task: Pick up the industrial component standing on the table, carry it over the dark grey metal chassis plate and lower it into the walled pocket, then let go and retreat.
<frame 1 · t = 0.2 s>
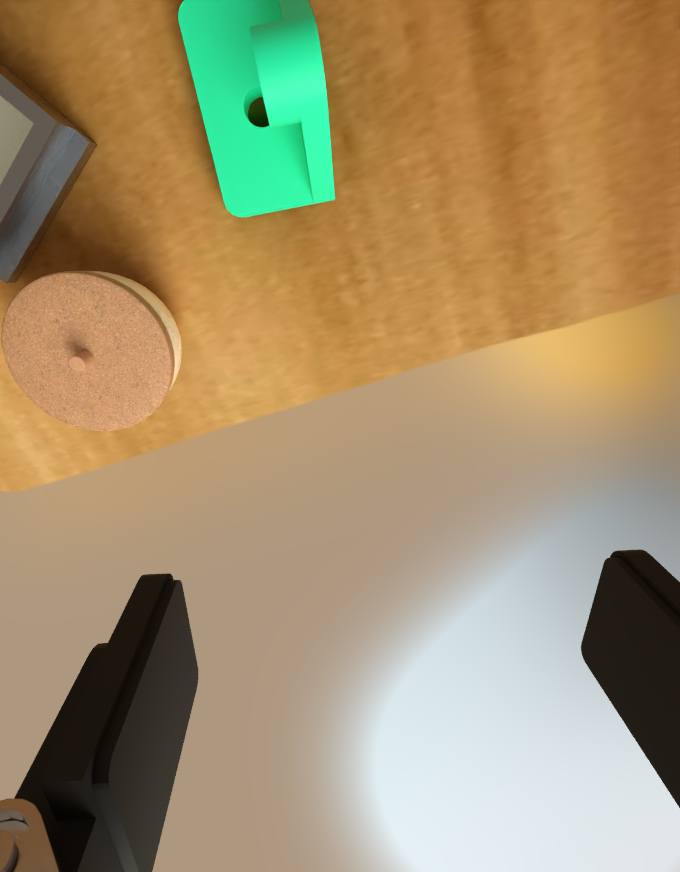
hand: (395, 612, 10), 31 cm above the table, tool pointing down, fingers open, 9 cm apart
lidded jar: (130, 333, 38), on the table
camera mount: (264, 117, 32), on the table
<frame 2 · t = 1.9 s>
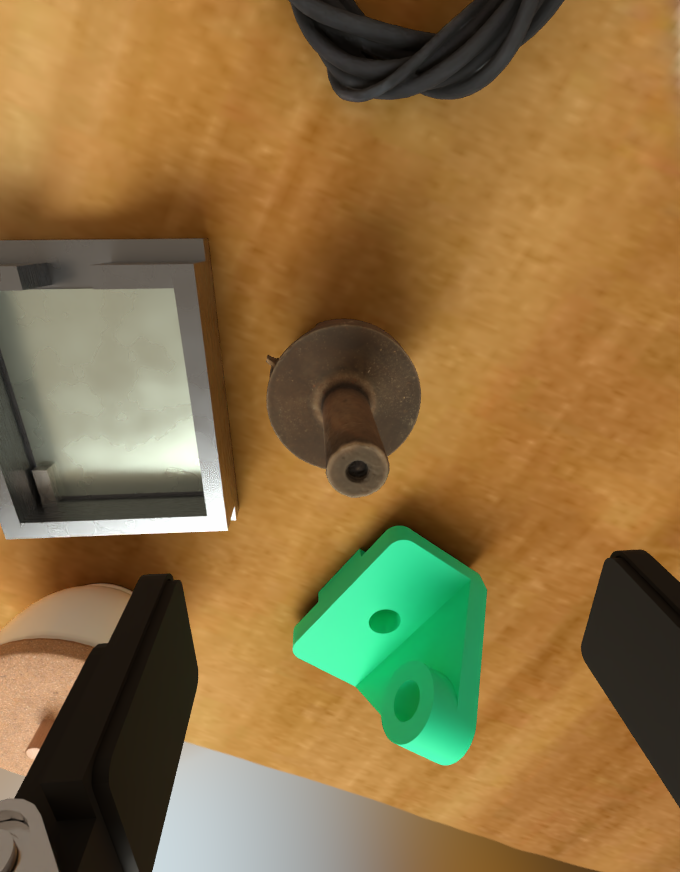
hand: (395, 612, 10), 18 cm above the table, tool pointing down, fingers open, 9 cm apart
lidded jar: (109, 614, 33), on the table
pocket plate: (118, 393, 26), on the table
camera mount: (379, 591, 33), on the table
industrial component: (348, 379, 27), on the table
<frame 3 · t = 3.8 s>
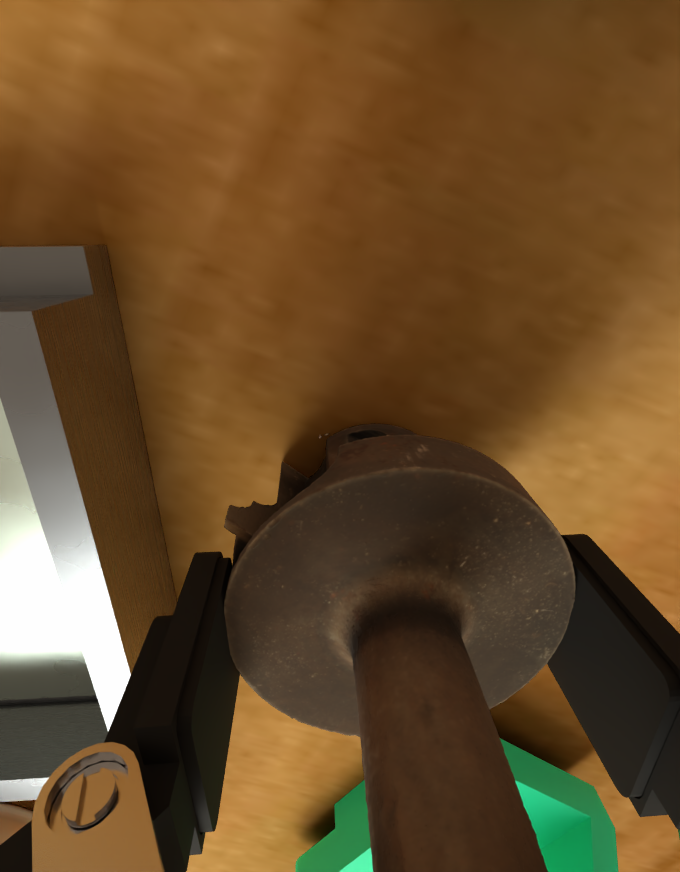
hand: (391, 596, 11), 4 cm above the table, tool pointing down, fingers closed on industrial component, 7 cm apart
camera mount: (428, 795, 22), on the table
industrial component: (387, 502, 15), on the table, touching gripper
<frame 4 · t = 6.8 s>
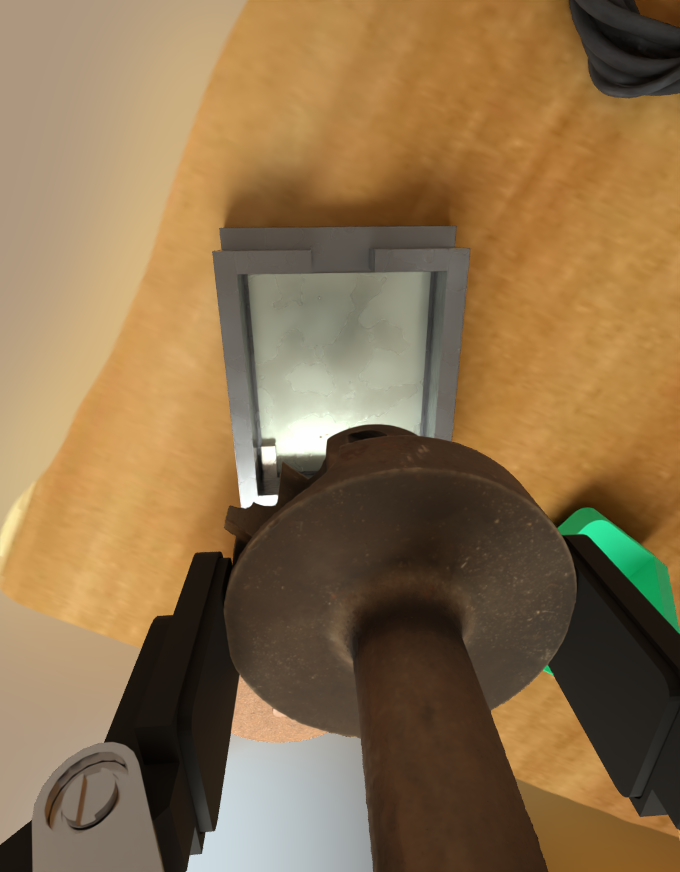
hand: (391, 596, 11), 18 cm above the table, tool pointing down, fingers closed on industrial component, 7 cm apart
lidded jar: (287, 589, 34), on the table
pocket plate: (339, 373, 27), on the table
camera mount: (549, 572, 35), on the table
industrial component: (388, 502, 15), point 14 cm above the table, touching gripper
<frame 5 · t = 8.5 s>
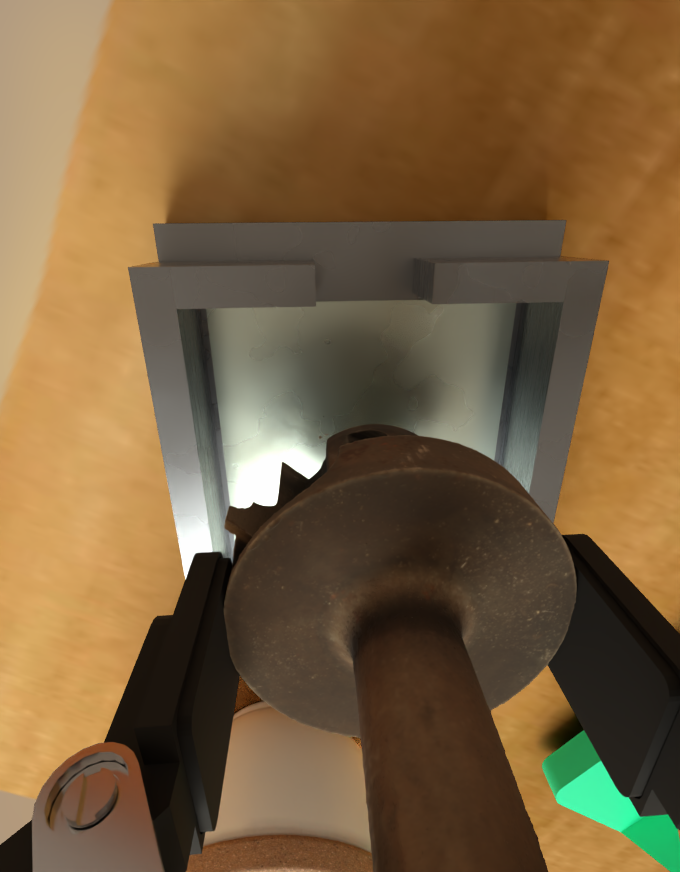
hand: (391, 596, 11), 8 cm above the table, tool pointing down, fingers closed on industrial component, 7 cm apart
lidded jar: (280, 734, 24), on the table
pocket plate: (358, 452, 18), on the table
camera mount: (647, 706, 26), on the table
industrial component: (388, 502, 15), point 3 cm above the table, touching gripper
when the fingers open (6 cm above the table, at t = 9.8 s): industrial component drops 1 cm, resting on pocket plate.
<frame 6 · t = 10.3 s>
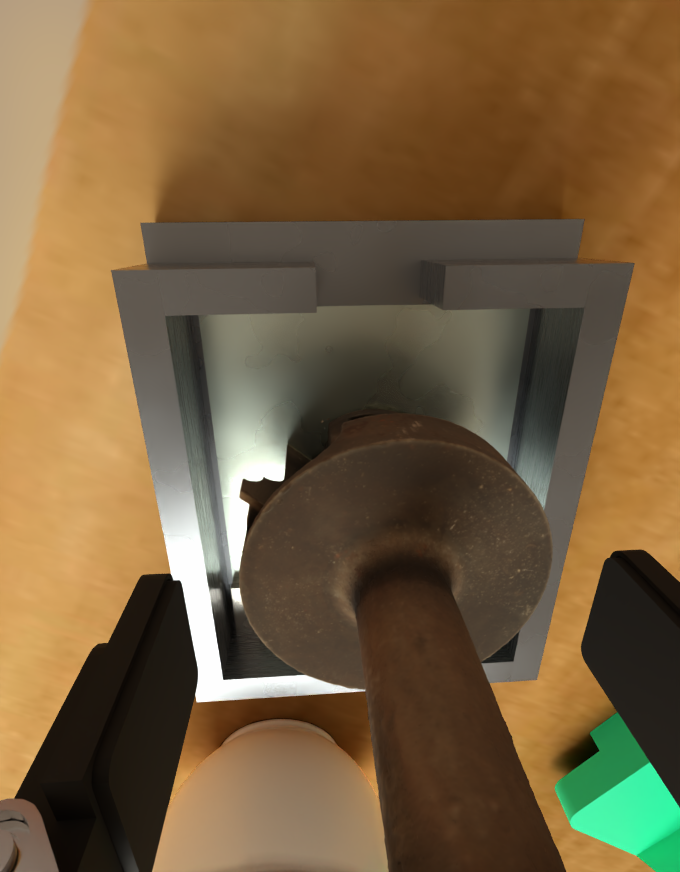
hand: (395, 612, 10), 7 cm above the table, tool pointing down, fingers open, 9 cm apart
lidded jar: (279, 754, 23), on the table
pocket plate: (361, 465, 17), on the table
camera mount: (663, 725, 25), on the table
industrial component: (384, 483, 16), point 1 cm above the table, touching pocket plate
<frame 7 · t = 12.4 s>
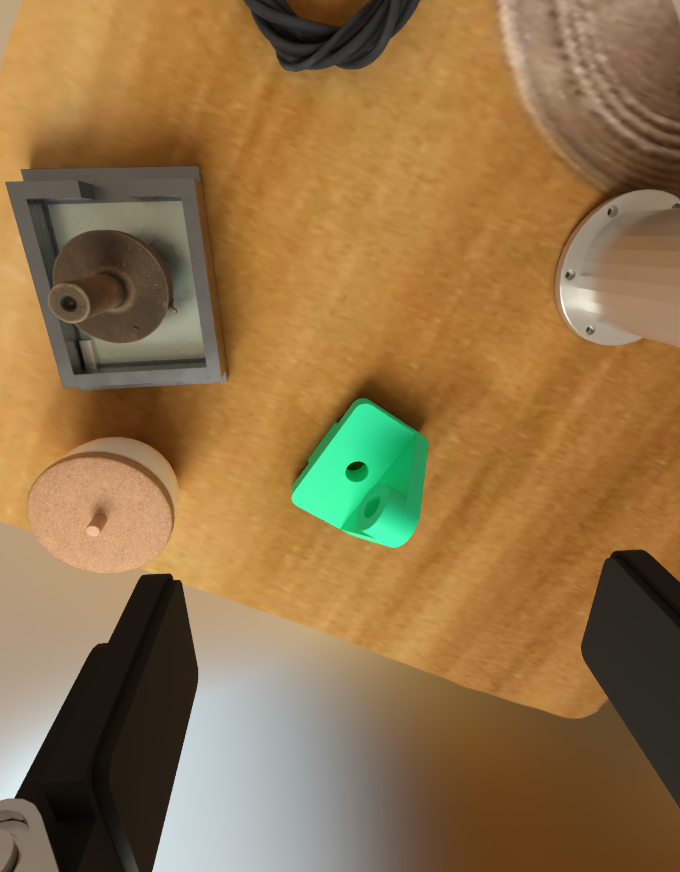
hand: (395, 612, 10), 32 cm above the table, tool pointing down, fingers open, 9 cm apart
lidded jar: (131, 471, 43), on the table
pocket plate: (139, 285, 37), on the table
camera mount: (353, 458, 45), on the table
industrial component: (145, 289, 36), point 1 cm above the table, touching pocket plate
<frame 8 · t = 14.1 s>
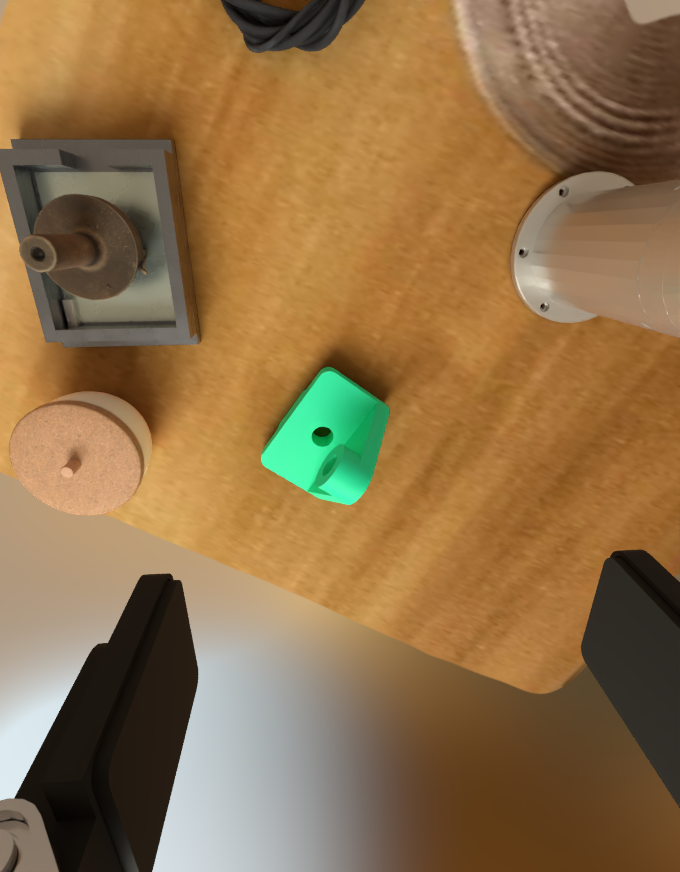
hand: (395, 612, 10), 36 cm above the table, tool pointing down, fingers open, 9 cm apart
lidded jar: (112, 427, 46), on the table
pocket plate: (118, 250, 40), on the table
camera mount: (321, 425, 48), on the table
industrial component: (123, 254, 39), point 1 cm above the table, touching pocket plate
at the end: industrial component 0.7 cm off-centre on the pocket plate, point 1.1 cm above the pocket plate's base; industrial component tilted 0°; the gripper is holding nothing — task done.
